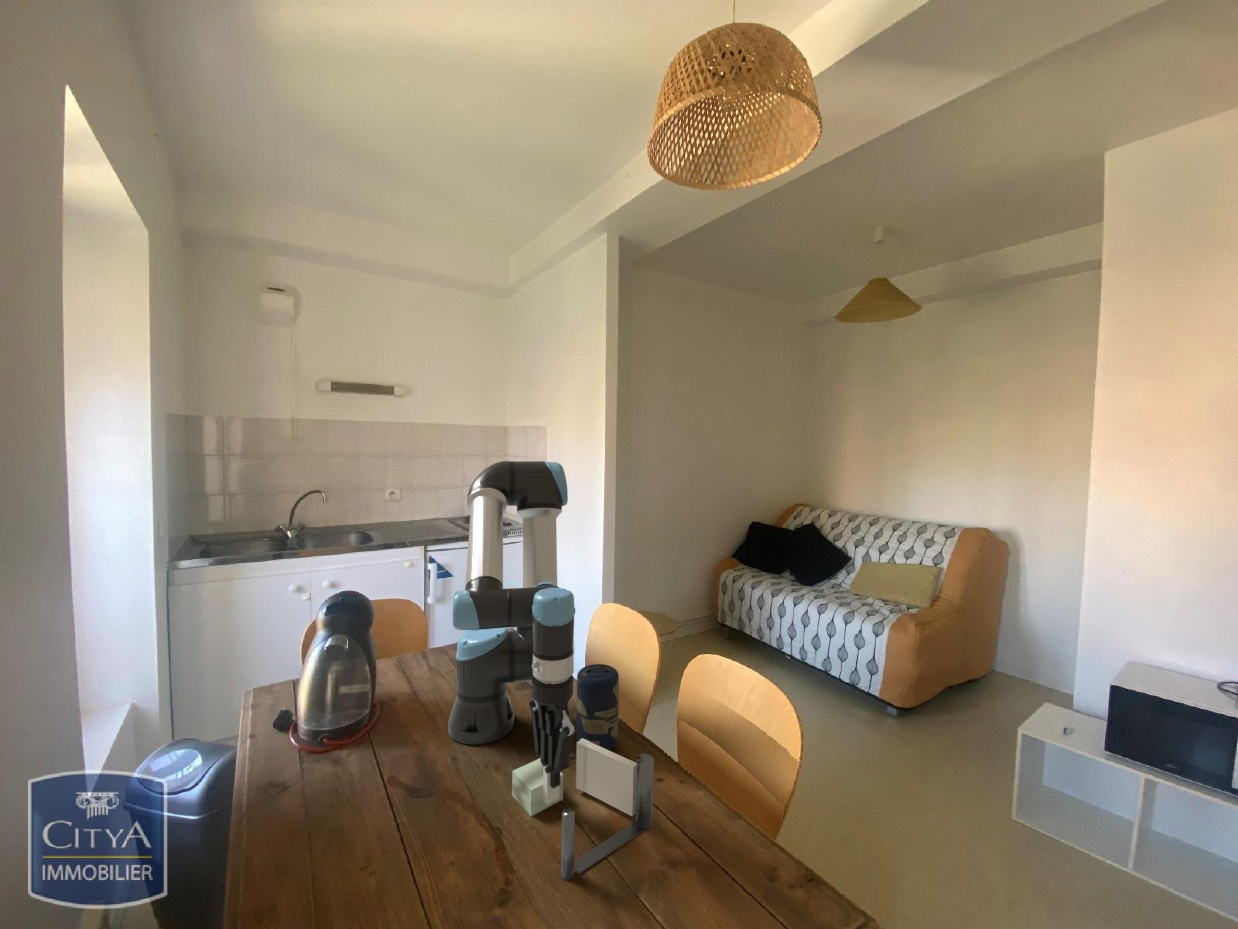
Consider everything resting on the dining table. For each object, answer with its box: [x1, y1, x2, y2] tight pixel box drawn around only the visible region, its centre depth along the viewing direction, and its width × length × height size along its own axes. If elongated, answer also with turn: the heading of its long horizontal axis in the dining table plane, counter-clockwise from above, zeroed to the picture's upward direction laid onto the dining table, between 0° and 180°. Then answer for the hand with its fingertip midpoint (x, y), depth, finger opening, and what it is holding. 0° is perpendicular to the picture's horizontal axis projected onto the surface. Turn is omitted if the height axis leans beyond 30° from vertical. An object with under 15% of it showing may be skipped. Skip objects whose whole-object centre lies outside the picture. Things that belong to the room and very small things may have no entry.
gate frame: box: [560, 753, 655, 881], centre depth 84 cm, size 3×19×12 cm, turn 131°
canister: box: [575, 663, 620, 752], centre depth 112 cm, size 10×10×18 cm
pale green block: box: [511, 757, 564, 817], centre depth 96 cm, size 7×7×5 cm
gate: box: [575, 738, 637, 817], centre depth 94 cm, size 13×2×9 cm, turn 55°
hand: (550, 799), depth 93 cm, fingers closed
